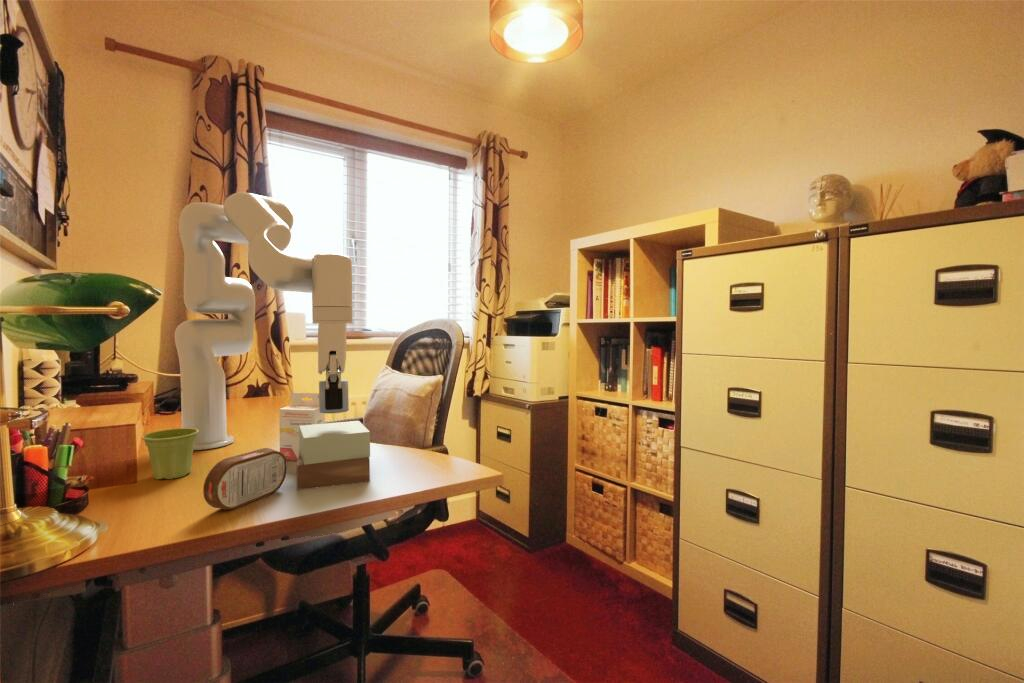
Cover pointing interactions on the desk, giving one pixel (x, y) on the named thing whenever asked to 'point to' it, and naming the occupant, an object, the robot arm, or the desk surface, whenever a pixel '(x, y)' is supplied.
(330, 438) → the sage top block
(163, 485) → the desk surface
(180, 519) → the desk surface
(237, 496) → the tin
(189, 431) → the plant pot
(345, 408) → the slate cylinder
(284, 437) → the ink cartridge box
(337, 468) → the walnut base block
